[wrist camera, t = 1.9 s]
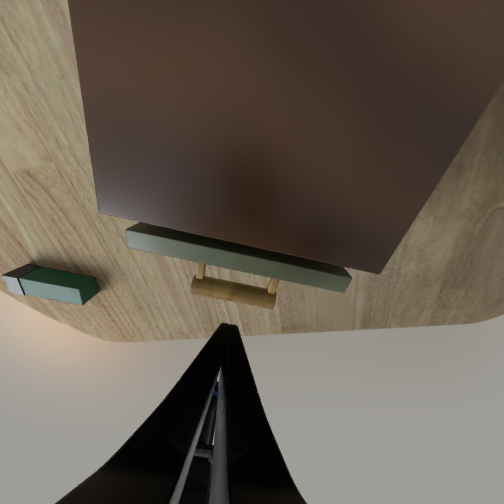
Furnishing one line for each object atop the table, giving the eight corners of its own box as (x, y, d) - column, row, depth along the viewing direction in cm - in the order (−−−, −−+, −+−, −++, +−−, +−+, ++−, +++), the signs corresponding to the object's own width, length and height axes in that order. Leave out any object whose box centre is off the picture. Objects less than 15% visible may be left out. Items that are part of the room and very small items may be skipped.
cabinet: (322, 222, 19) (380, 275, 10) (177, 188, 18) (97, 213, 9) (417, -7, 12) (877, -499, 3) (189, -85, 11) (-108, -1166, 2)
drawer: (296, 281, 21) (316, 342, 14) (176, 256, 20) (131, 308, 13) (389, 52, 12) (564, -94, 5) (190, -10, 11) (80, -289, 4)
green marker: (95, 277, 23) (78, 289, 20) (98, 292, 24) (82, 306, 21) (27, 263, 22) (1, 275, 20) (33, 280, 23) (9, 293, 21)
